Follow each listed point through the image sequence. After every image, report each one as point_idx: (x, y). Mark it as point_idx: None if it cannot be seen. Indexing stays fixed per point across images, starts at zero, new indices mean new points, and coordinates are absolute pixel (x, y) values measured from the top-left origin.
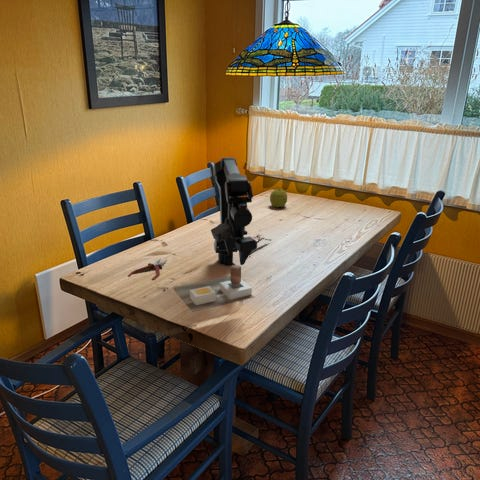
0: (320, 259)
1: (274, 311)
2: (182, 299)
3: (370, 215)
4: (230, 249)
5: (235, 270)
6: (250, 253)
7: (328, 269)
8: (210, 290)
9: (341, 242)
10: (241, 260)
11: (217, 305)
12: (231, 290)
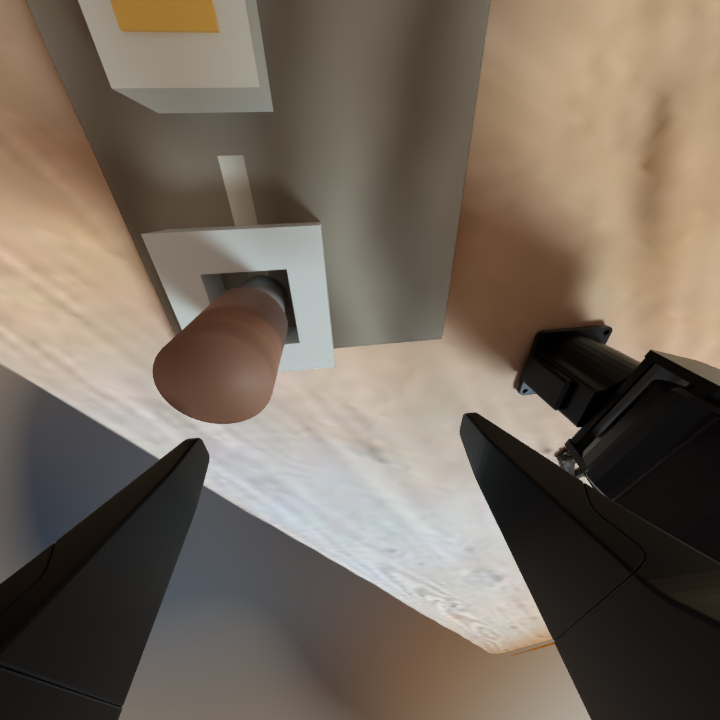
0: (409, 564)
1: (90, 388)
2: None
3: (517, 637)
4: (488, 471)
5: (160, 359)
6: (560, 459)
7: (352, 563)
8: (157, 44)
9: (457, 599)
10: (125, 495)
11: (70, 86)
12: (178, 257)
